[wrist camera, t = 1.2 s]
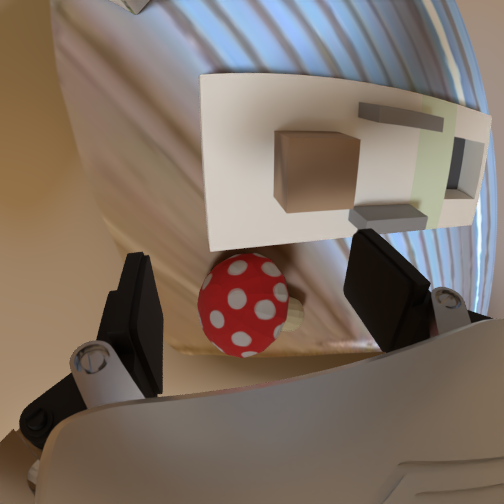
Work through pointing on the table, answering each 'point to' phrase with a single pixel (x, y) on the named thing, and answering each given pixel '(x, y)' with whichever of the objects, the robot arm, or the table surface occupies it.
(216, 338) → the decorative mushroom
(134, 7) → the syrup box
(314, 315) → the table surface
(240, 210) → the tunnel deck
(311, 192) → the walnut block
